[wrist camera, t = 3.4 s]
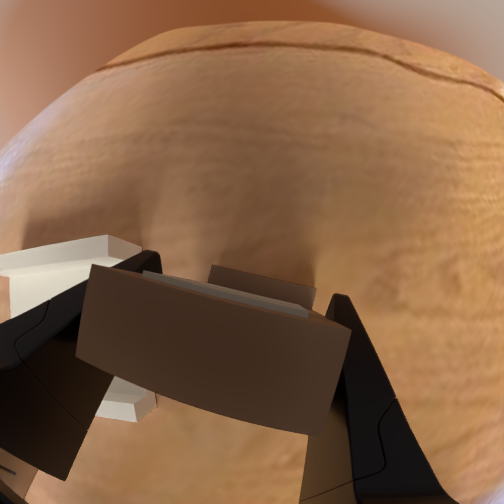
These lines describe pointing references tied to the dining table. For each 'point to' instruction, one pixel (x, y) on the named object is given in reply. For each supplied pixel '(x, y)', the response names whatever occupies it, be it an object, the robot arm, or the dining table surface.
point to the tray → (62, 278)
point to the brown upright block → (217, 343)
